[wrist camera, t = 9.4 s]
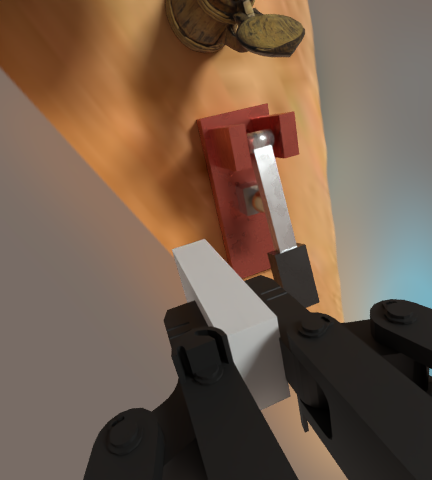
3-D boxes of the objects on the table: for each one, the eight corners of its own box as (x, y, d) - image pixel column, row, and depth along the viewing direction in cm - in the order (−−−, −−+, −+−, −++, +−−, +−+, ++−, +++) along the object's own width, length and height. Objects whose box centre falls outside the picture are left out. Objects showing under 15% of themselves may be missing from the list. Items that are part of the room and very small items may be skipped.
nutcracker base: (196, 119, 43) (219, 114, 34) (261, 104, 45) (298, 96, 36) (231, 275, 52) (256, 304, 43) (283, 257, 54) (318, 280, 45)
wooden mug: (194, 98, 42) (246, 72, 26) (154, -21, 37) (188, -146, 21) (252, 76, 44) (335, 39, 27) (221, -41, 38) (302, -172, 22)
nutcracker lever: (236, 138, 39) (242, 133, 37) (267, 130, 40) (275, 124, 38) (281, 308, 42) (290, 313, 40) (309, 297, 43) (319, 302, 41)
